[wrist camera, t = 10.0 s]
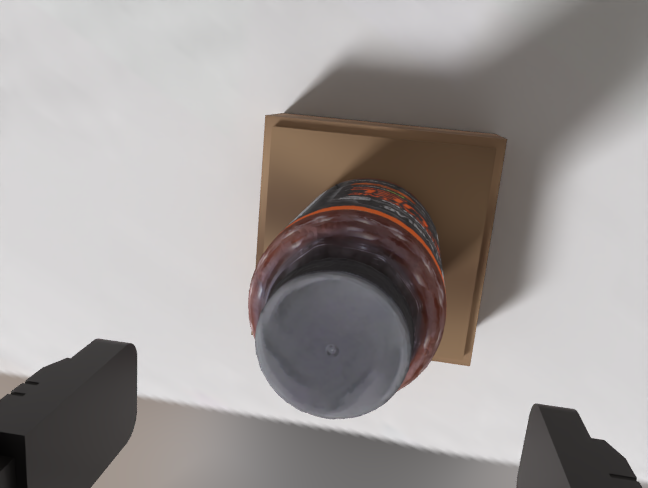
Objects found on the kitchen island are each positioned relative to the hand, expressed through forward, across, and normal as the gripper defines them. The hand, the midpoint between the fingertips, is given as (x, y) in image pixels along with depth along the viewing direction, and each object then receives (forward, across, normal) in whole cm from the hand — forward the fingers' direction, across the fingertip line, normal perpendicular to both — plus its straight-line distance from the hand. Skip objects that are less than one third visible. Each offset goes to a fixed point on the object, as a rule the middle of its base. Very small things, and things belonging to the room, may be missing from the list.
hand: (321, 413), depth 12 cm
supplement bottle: (+14, 0, 0) cm, 14 cm away
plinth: (+18, 0, 0) cm, 18 cm away
